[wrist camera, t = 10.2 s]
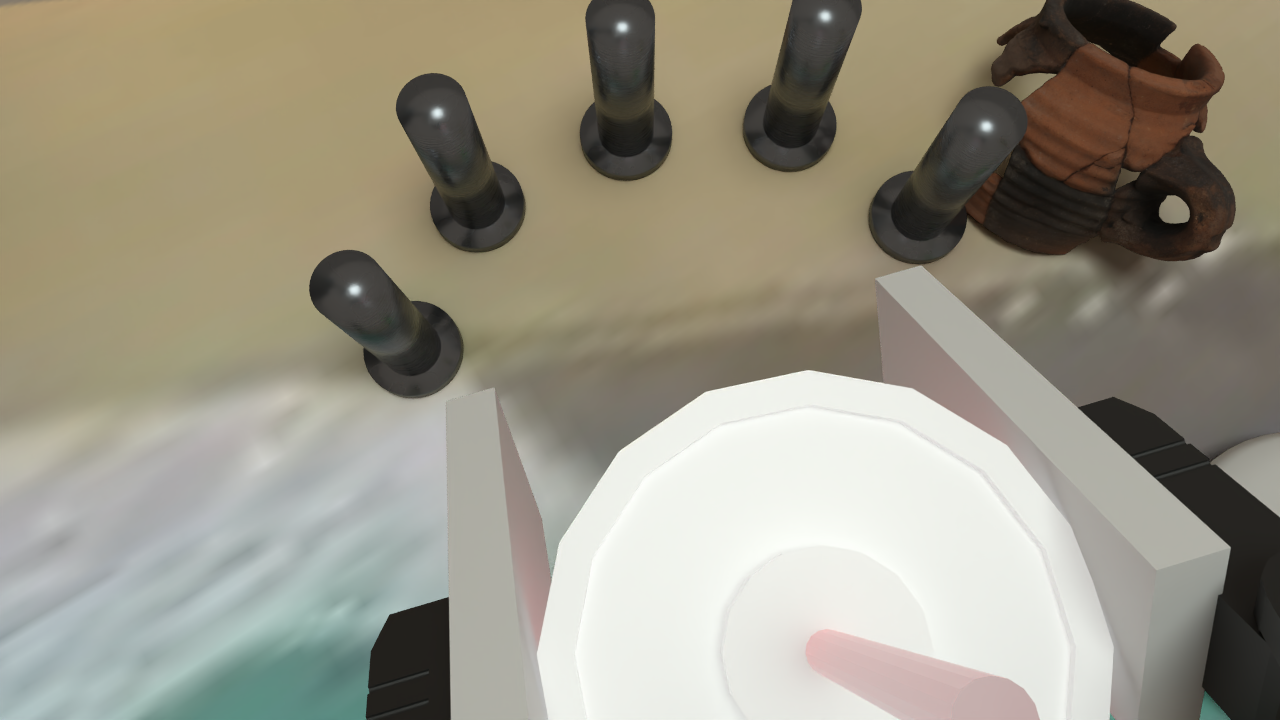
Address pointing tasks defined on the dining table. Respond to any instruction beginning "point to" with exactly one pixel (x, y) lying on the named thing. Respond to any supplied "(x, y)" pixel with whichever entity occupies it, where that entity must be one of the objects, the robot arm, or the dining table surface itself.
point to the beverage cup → (821, 570)
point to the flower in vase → (1256, 468)
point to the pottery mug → (1107, 136)
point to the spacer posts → (648, 171)
